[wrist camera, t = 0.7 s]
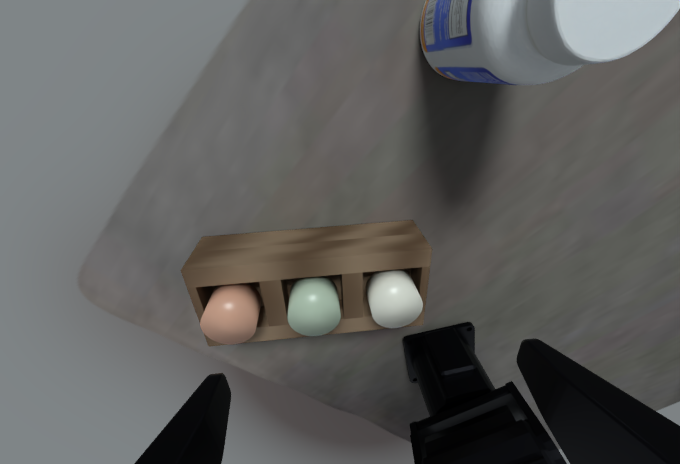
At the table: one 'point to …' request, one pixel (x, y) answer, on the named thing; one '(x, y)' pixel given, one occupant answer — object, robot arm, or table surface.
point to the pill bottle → (534, 36)
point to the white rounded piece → (393, 298)
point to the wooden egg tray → (308, 269)
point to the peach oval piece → (231, 313)
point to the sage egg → (313, 306)
